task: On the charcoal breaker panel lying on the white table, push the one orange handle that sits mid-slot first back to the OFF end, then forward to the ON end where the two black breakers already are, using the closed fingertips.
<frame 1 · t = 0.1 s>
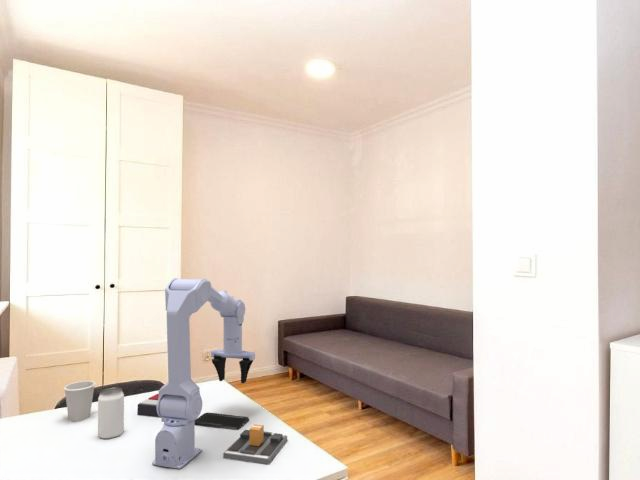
hand: (232, 381, 129), 10 cm above the table, tool pointing down, fingers open, 7 cm apart
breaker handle: (256, 434, 106), point 4 cm above the table, slide at 0.0 cm
phone: (221, 424, 122), on the table
panel: (256, 448, 106), on the table
dixie cup: (79, 418, 126), on the table
red and black box: (166, 409, 134), on the table
can: (110, 434, 115), on the table
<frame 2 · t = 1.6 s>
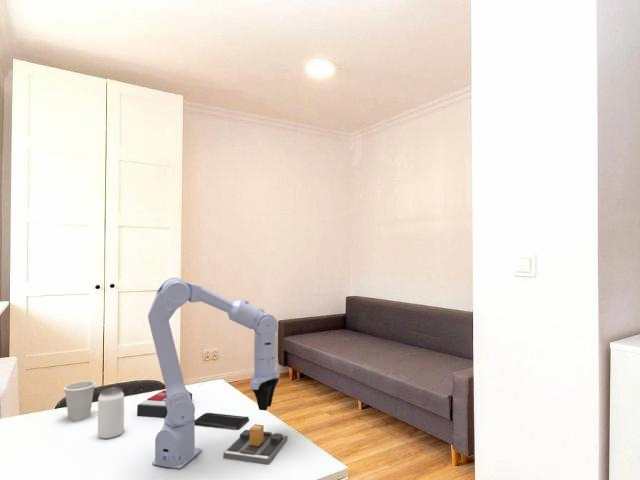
hand: (264, 407, 111), 8 cm above the table, tool pointing down, fingers closed
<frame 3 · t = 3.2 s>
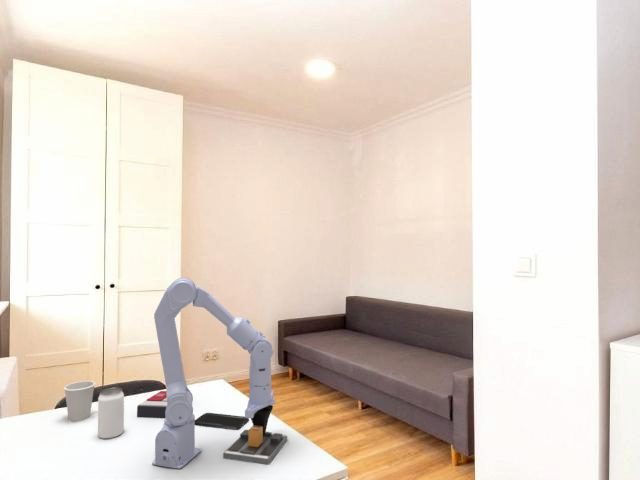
hand: (260, 435, 108), 2 cm above the table, tool pointing down, fingers closed
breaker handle: (255, 435, 105), point 4 cm above the table, slide at -0.6 cm, touching gripper
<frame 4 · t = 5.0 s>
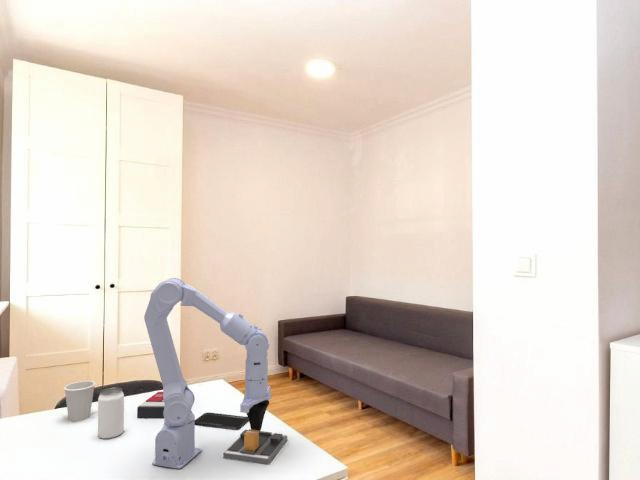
hand: (256, 430, 106), 5 cm above the table, tool pointing down, fingers closed
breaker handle: (251, 440, 103), point 4 cm above the table, slide at -3.0 cm
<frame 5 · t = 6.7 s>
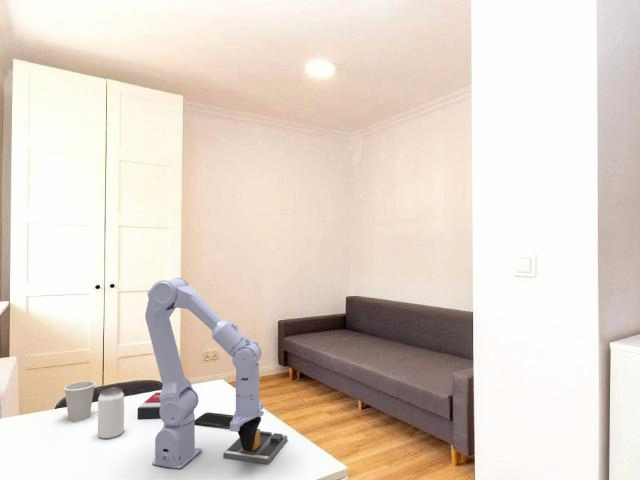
hand: (247, 449, 101), 2 cm above the table, tool pointing down, fingers closed
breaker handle: (252, 438, 104), point 4 cm above the table, slide at -2.3 cm, touching gripper
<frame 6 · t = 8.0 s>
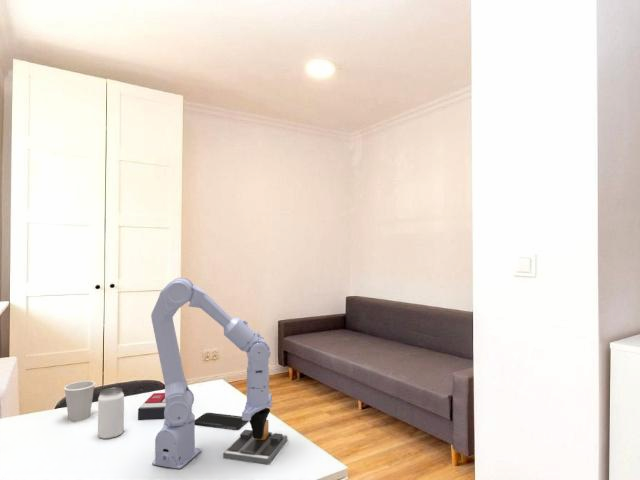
hand: (258, 437, 107), 2 cm above the table, tool pointing down, fingers closed
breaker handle: (261, 429, 109), point 4 cm above the table, slide at 3.3 cm, touching gripper
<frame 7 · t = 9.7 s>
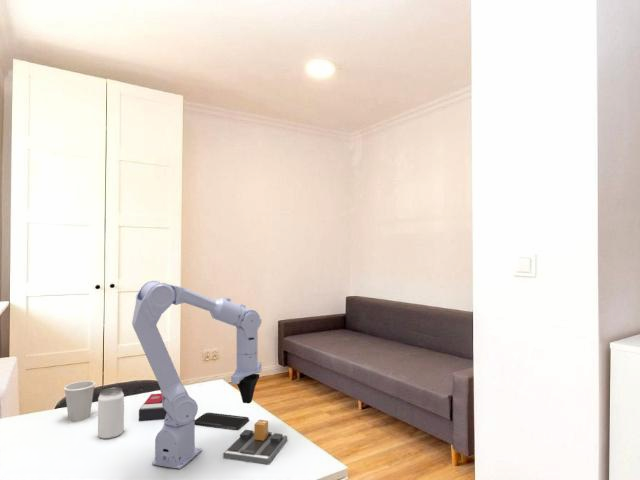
hand: (247, 402, 113), 9 cm above the table, tool pointing down, fingers closed
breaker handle: (261, 429, 109), point 4 cm above the table, slide at 3.0 cm
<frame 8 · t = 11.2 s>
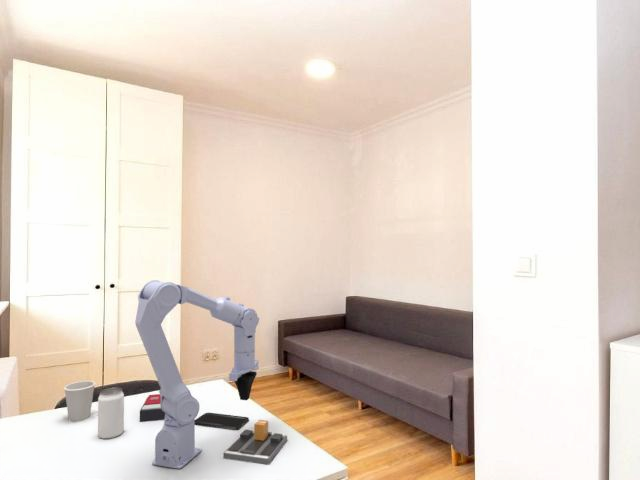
hand: (244, 399, 115), 9 cm above the table, tool pointing down, fingers closed
at the end: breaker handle slide at 3.0 cm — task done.
